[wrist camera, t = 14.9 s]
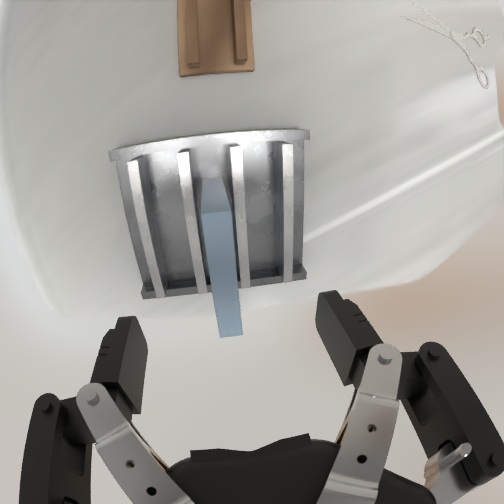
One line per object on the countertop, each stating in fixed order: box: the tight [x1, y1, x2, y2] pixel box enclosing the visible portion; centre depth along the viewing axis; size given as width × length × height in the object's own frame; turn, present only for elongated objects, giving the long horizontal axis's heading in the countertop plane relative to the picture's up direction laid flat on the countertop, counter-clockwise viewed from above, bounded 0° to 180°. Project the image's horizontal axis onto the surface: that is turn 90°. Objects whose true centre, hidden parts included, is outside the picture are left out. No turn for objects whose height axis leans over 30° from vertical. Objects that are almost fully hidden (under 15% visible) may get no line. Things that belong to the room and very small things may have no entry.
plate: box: [201, 177, 243, 338], centre depth 20 cm, size 2×9×9 cm, turn 3°
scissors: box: [401, 0, 490, 89], centre depth 18 cm, size 11×1×20 cm
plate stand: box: [178, 0, 255, 77], centre depth 15 cm, size 6×11×3 cm, turn 3°
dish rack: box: [109, 129, 310, 299], centre depth 23 cm, size 16×14×4 cm
